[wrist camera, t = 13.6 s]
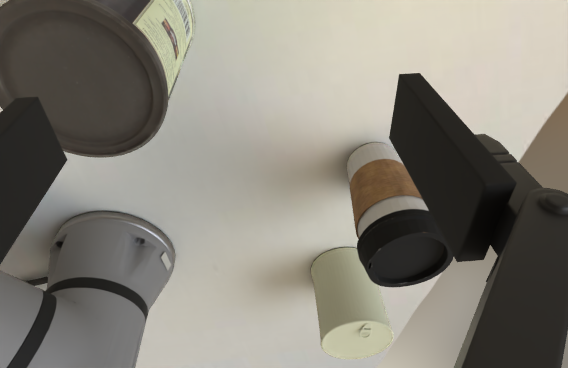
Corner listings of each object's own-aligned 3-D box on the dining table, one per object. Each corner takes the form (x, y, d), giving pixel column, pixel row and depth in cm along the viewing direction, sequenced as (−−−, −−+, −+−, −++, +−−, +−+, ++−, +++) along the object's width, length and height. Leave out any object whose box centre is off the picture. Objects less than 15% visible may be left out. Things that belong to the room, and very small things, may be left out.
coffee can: (46, 5, 33) (-59, 74, 22) (126, -84, 29) (47, -55, 18) (142, 93, 38) (96, 183, 27) (219, 27, 35) (202, 100, 24)
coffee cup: (340, 132, 42) (371, 231, 31) (416, 132, 43) (474, 230, 31) (331, 191, 48) (355, 294, 36) (399, 190, 48) (444, 292, 37)
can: (382, 250, 55) (407, 327, 46) (360, 289, 61) (379, 365, 52) (320, 243, 54) (333, 322, 44) (303, 284, 59) (312, 361, 50)
